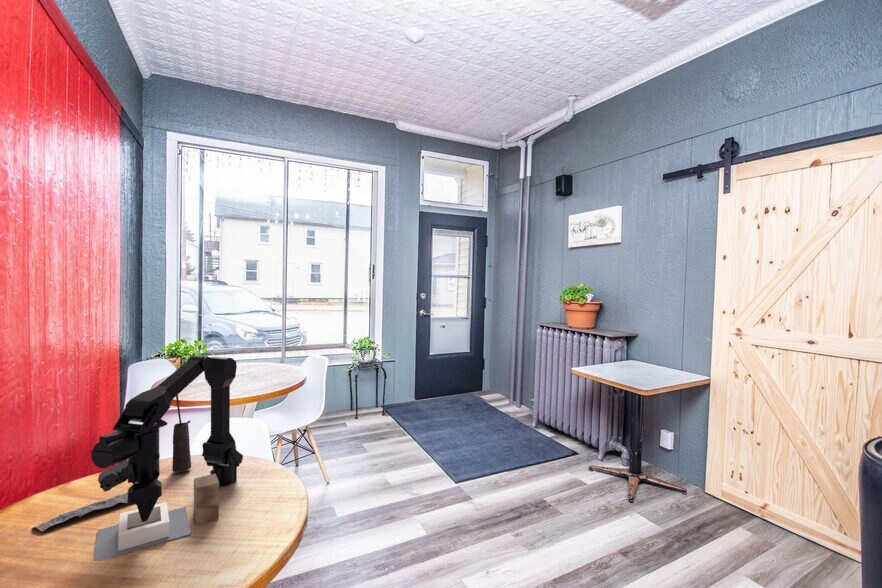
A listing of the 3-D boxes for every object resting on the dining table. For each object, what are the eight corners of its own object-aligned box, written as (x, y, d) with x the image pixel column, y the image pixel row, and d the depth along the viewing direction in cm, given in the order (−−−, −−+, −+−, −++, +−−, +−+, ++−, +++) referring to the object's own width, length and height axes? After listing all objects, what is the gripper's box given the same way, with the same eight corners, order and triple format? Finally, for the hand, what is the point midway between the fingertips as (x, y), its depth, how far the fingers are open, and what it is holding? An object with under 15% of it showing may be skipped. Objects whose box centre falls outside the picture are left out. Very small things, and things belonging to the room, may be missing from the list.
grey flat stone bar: (36, 536, 95) (36, 527, 95) (30, 527, 99) (30, 518, 99) (140, 501, 112) (140, 493, 112) (131, 494, 116) (131, 486, 116)
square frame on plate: (185, 510, 108) (185, 493, 108) (190, 537, 97) (190, 519, 97) (97, 533, 97) (98, 515, 97) (92, 567, 86) (92, 547, 86)
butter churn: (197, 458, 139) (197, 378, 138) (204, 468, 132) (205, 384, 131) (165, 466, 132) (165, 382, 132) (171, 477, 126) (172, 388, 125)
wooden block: (215, 509, 109) (215, 473, 109) (218, 520, 104) (219, 482, 104) (193, 515, 106) (193, 478, 106) (196, 527, 101) (196, 488, 101)
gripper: (104, 443, 99) (103, 505, 100) (97, 474, 84) (97, 546, 85) (159, 434, 106) (158, 492, 106) (162, 460, 91) (161, 528, 91)
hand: (144, 513), depth 97 cm, fingers open, 7 cm apart
